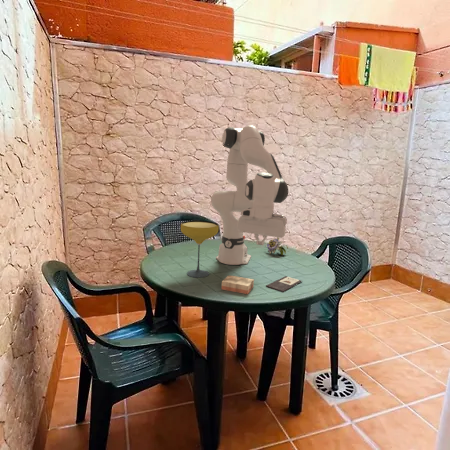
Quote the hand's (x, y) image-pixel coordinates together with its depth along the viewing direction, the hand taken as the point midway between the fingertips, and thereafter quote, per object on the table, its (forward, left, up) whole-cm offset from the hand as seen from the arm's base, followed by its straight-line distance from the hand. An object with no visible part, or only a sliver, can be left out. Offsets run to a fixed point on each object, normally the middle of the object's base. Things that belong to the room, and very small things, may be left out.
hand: (260, 244), depth 145 cm
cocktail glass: (-7, -33, -22) cm, 40 cm away
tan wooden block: (0, -3, -20) cm, 20 cm away
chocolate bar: (-16, +8, -22) cm, 28 cm away
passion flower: (-65, -10, -22) cm, 69 cm away
